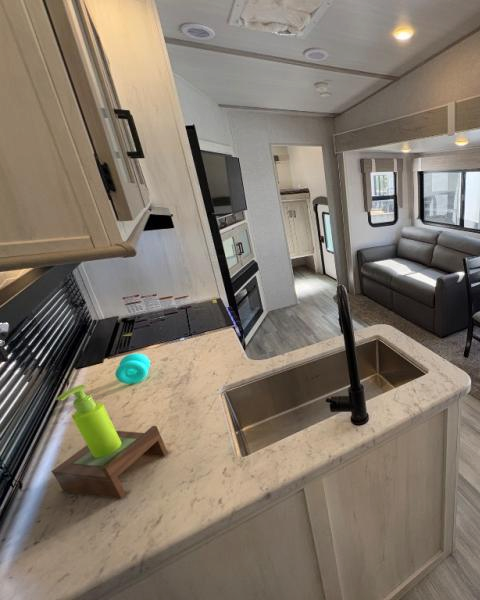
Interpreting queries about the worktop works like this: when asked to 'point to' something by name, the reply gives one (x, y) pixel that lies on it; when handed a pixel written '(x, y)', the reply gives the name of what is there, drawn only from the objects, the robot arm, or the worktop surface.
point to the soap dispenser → (93, 423)
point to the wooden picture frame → (107, 464)
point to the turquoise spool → (132, 368)
